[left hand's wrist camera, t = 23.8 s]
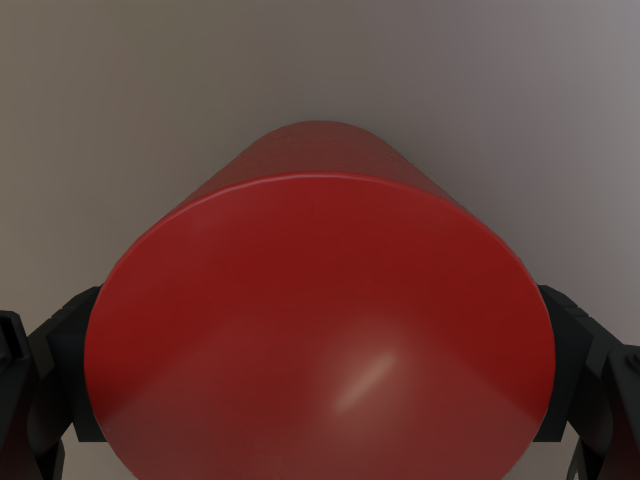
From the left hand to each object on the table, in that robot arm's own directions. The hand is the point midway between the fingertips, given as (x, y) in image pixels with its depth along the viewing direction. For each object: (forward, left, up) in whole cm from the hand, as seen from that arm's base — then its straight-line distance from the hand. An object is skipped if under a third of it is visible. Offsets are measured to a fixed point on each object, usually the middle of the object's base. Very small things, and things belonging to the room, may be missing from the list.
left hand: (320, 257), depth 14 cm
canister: (0, 0, -3) cm, 3 cm away
